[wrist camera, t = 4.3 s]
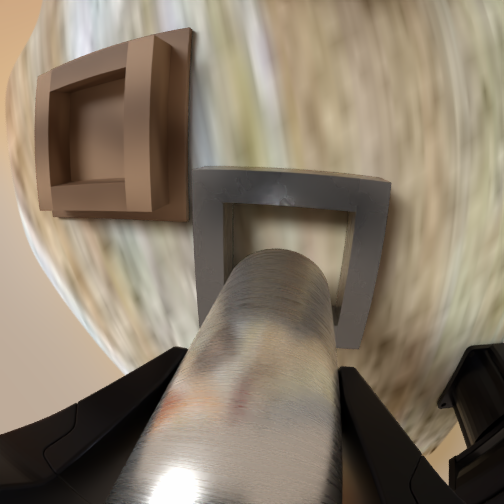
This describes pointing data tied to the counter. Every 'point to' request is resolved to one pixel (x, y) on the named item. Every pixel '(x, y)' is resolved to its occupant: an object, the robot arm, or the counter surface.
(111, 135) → the brown square tray
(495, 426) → the robot arm
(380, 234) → the socket block
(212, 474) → the silver metal cylinder
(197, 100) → the counter surface
